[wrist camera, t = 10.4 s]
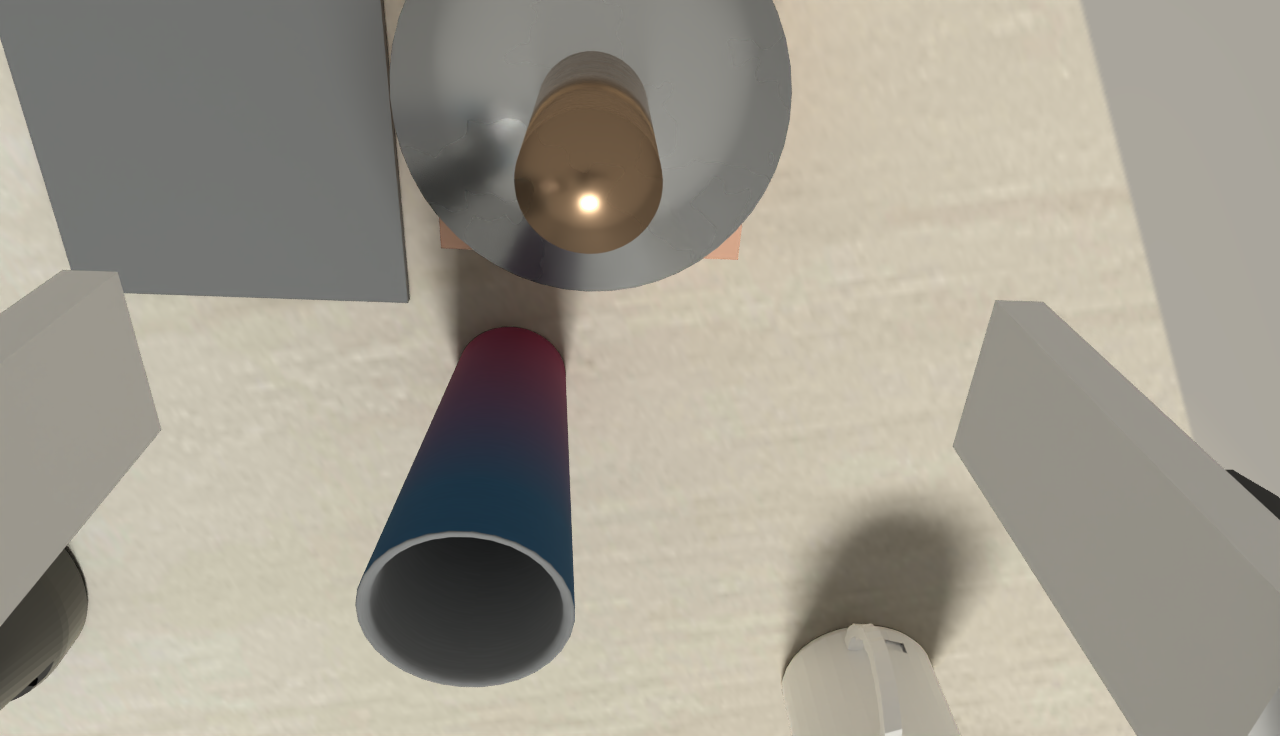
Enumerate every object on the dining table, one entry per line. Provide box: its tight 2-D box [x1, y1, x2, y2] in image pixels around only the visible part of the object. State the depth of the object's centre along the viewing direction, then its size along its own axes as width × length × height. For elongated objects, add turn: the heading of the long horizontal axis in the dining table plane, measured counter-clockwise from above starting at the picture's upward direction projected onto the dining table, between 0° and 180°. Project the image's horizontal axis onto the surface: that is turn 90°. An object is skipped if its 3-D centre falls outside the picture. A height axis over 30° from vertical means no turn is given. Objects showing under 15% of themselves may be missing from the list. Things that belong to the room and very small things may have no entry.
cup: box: [356, 327, 575, 687], centre depth 33 cm, size 7×7×15 cm
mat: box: [0, 0, 410, 303], centre depth 33 cm, size 14×14×1 cm
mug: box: [782, 623, 961, 736], centre depth 46 cm, size 12×9×9 cm
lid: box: [390, 0, 792, 291], centre depth 24 cm, size 13×13×9 cm
